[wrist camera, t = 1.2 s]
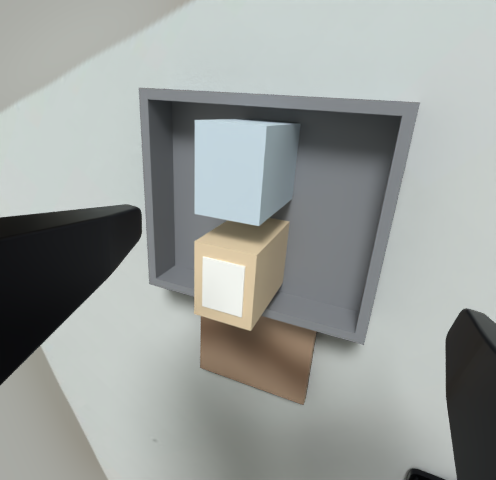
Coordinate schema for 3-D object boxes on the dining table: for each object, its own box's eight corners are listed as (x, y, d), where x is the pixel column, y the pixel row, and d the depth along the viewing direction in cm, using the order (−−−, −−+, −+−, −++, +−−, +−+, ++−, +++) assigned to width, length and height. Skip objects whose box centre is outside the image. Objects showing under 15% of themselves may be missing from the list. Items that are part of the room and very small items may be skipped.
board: (305, 397, 26) (303, 405, 26) (204, 361, 29) (200, 367, 29) (318, 323, 24) (315, 329, 23) (206, 292, 27) (201, 296, 26)
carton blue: (292, 198, 21) (258, 226, 16) (241, 190, 22) (194, 213, 17) (300, 123, 19) (266, 126, 14) (245, 118, 21) (194, 119, 15)
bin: (367, 318, 22) (363, 344, 20) (172, 268, 27) (149, 284, 25) (415, 104, 18) (419, 102, 15) (168, 90, 22) (138, 87, 20)
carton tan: (282, 282, 23) (250, 332, 18) (236, 271, 25) (193, 314, 19) (289, 221, 22) (256, 255, 16) (239, 212, 23) (193, 241, 18)
